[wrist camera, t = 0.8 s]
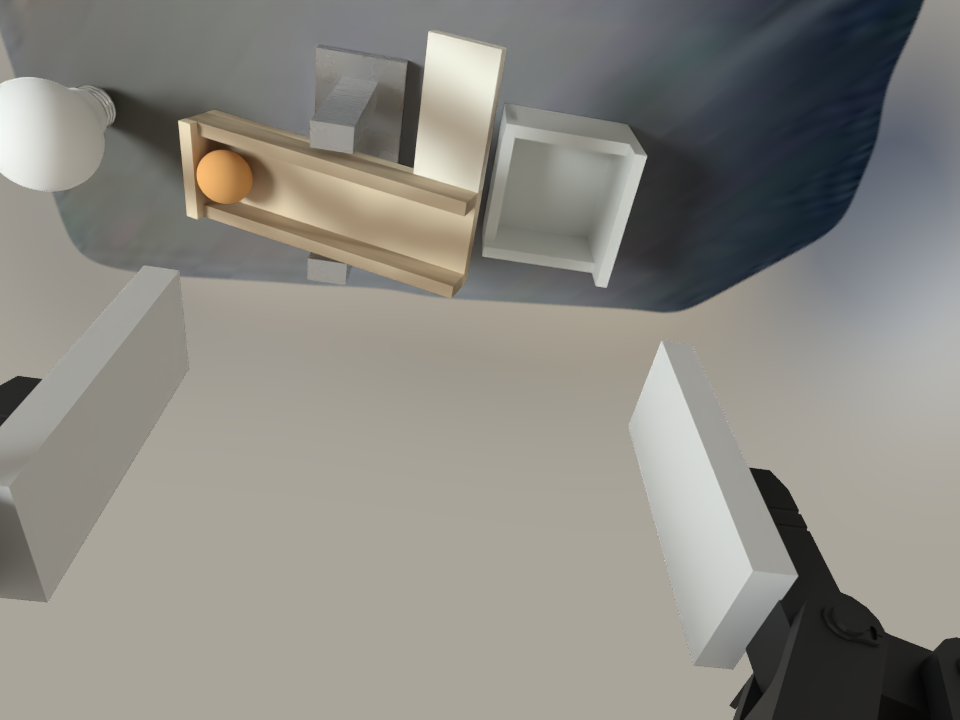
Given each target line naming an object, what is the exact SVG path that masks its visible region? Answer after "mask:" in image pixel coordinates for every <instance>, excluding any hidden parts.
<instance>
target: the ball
mask: <svg viewBox="0 0 960 720" xmlns="http://www.w3.org/2000/svg"><path fill="white" fill-rule="evenodd" d="M197 181H198V184H199V187H200V188H201V190H202V192H203V193H204V194H205V195H206V196H207V197H208V198H210V199H211V200H213V201H215V202H218V203H222V204H232V203H236V202H239V201H241V200H242V199H243V198H245V197H246V196H247V194H248V193H249V191H250V189H251V187H252V181H253V178H252V172H251V169H250V167H249V165H248V164H247V162H246V161H245V160H244V159H243V158H242V157H241V156H240V155H238V154H236V153H234V152H232V151H228V150H216V151H212V152H210V153H208V154H207V155H205V156H204V157H203V158H202V160H201V161H200V163H199V165H198V168H197Z"/></svg>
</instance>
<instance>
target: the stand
mask: <svg viewBox="0 0 960 720" xmlns="http://www.w3.org/2000/svg"><path fill="white" fill-rule="evenodd" d="M407 67H408V60H404V59H398V58H392V57H386V56H381V55H375V54H369V53H363V52H358V51H352V50H346V49H341V48H335V47H329V46H323V45H319V46H318V47H317V48H316V90H315V115H314V116H313V117H312V119H311V120H310V147H312V148H318V149H324V150H331V151H337V152H343V153H349V154H353V153H354V151H356V152H360V153H363V154H367V155H370V156H373V157H377V158H380V159H384V160H387V161H390V162H394V163H397V164H398V161H399V151H400V140H401V130H402V119H403V109H404V98H405V88H406V77H407ZM351 268H352V265H349V264H346V263H343V262H340V261H337V260H334V259H331V258H328V257H325V256H322V255H319V254H316V253H313V252H311V253H310V255H309V257H308V280H315V281H322V282H329V283H336V284H343V285H346V282H347V279H348V276H349V274H350V271H351Z"/></svg>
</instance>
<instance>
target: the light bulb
mask: <svg viewBox="0 0 960 720" xmlns="http://www.w3.org/2000/svg"><path fill="white" fill-rule="evenodd" d="M116 113H117V112H116V107H115V103H114V101H113V99H112V98H111V96H110V95H109V94H108V93H107V92H106V91H104V90H103V89H101V88H99V87H97V86H93V85H81V86H78V87H76V88H67V87H65V86H63V85H61V84H59V83H56V82H54V81H51V80H47V79H41V78H35V77H21V78H16V79H12V80H9V81H5V82H3V83H1V84H0V173H2V174H3V175H4V176H5V177H7V178H8V179H10V180H11V181H13V182H15V183H17V184H19V185H21V186H24V187H27V188H31V189H35V190H42V191H62V190H66V189H71V188H73V187H75V186H77V185H79V184H81V183H83V182H85V181H86V180H87V179H89V178H90V177H91V176H92V175H93V174H94V173H95V172H96V170H97V168H98V167H99V165H100V163H101V160H102V157H103V154H104V145H105V142H104V135H103V133H104V131H105V129H106V128H108V127H109V126H111V125H112V124H113V122H114V121H115V119H116Z"/></svg>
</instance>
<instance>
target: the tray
mask: <svg viewBox="0 0 960 720" xmlns="http://www.w3.org/2000/svg"><path fill="white" fill-rule="evenodd" d="M646 159H647V155H646V153H645V152H644V150H643V148H642V147H641V145H640V143H639V142H638V140H637V139H636V137H635V135H634V134H633V132H632V130H631V129H630V127H629V126H628V124H624V123H618V122H612V121H606V120H600V119H594V118H589V117H583V116H577V115H571V114H565V113H559V112H554V111H548V110H542V109H536V108H530V107H524V106H519V105H513V104H507V103H504V109H503V114H502V120H501V125H500V131H499V137H498V142H497V148H496V154H495V159H494V165H493V170H492V176H491V182H490V187H489V193H488V198H487V204H486V210H485V215H484V221H483V226H482V257H489V258H496V259H502V260H509V261H516V262H522V263H529V264H536V265H542V266H549V267H556V268H562V269H569V270H576V271H583V272H589V273H592V275H593V278H594V282H595V285H596V286H599V287H605V288H607V285H608V281H609V278H610V275H611V272H612V269H613V265H614V262H615V259H616V256H617V252H618V249H619V246H620V243H621V239H622V236H623V233H624V230H625V227H626V223H627V220H628V217H629V214H630V210H631V207H632V204H633V201H634V198H635V194H636V191H637V188H638V185H639V181H640V178H641V175H642V172H643V169H644V165H645V162H646Z"/></svg>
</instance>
